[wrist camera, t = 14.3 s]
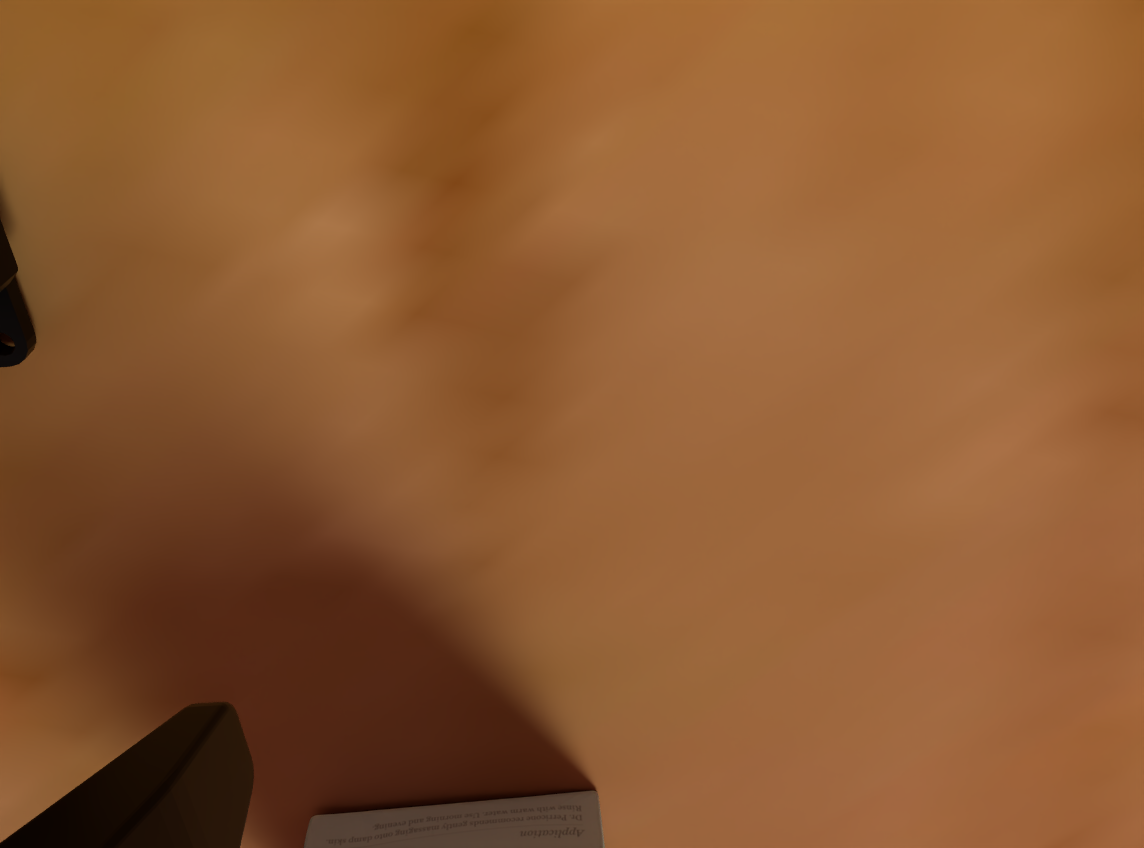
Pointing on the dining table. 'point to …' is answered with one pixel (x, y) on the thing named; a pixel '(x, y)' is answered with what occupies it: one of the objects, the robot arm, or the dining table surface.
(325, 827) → the skincare box
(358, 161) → the dining table surface
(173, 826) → the robot arm
